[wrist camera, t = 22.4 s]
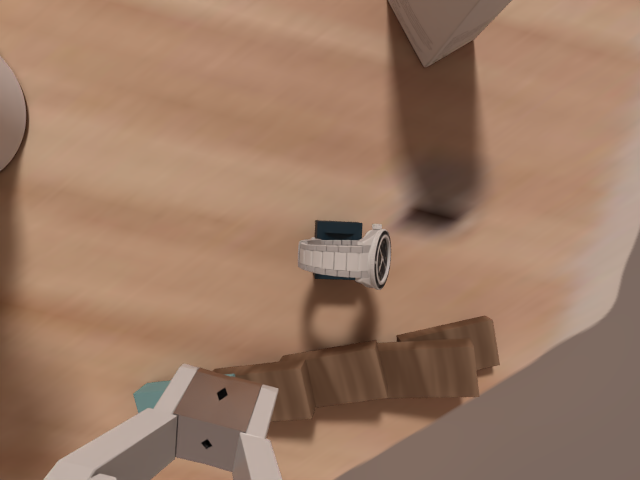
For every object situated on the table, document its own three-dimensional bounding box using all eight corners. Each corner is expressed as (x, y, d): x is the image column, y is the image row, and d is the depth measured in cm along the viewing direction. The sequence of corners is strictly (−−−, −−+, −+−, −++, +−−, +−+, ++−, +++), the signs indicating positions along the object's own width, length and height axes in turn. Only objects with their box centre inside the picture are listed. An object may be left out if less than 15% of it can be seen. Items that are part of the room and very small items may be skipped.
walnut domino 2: (290, 410, 36) (387, 398, 34) (277, 364, 36) (375, 348, 34) (295, 399, 38) (387, 386, 36) (282, 355, 38) (375, 340, 36)
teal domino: (146, 441, 36) (237, 434, 33) (133, 393, 35) (224, 384, 33) (159, 428, 38) (246, 421, 35) (147, 383, 37) (234, 373, 35)
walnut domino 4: (374, 398, 37) (479, 396, 34) (367, 351, 36) (473, 346, 34) (375, 387, 39) (475, 385, 36) (369, 343, 38) (470, 338, 36)
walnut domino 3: (409, 385, 38) (499, 364, 38) (400, 340, 37) (492, 319, 38) (403, 377, 40) (489, 357, 40) (395, 333, 39) (482, 314, 40)
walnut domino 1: (216, 425, 36) (311, 418, 34) (205, 378, 36) (300, 368, 33) (225, 413, 38) (316, 406, 36) (214, 368, 38) (305, 358, 35)
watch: (372, 275, 38) (404, 300, 27) (296, 272, 37) (297, 297, 26) (375, 222, 38) (408, 225, 27) (298, 218, 37) (300, 220, 26)
